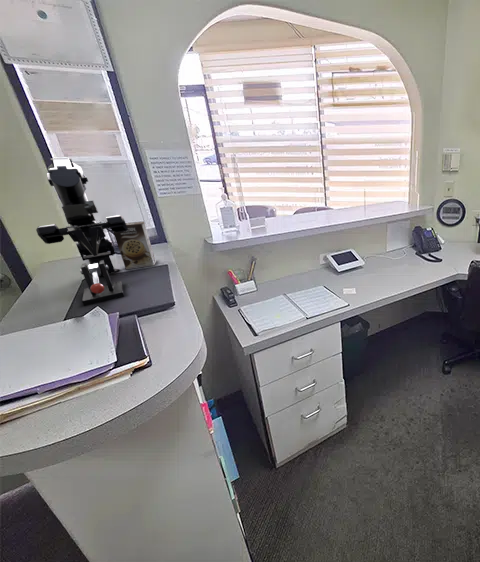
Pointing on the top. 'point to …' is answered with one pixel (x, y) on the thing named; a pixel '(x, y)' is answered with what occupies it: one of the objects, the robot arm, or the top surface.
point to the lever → (95, 278)
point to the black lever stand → (109, 289)
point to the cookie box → (135, 246)
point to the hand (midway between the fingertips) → (95, 255)
